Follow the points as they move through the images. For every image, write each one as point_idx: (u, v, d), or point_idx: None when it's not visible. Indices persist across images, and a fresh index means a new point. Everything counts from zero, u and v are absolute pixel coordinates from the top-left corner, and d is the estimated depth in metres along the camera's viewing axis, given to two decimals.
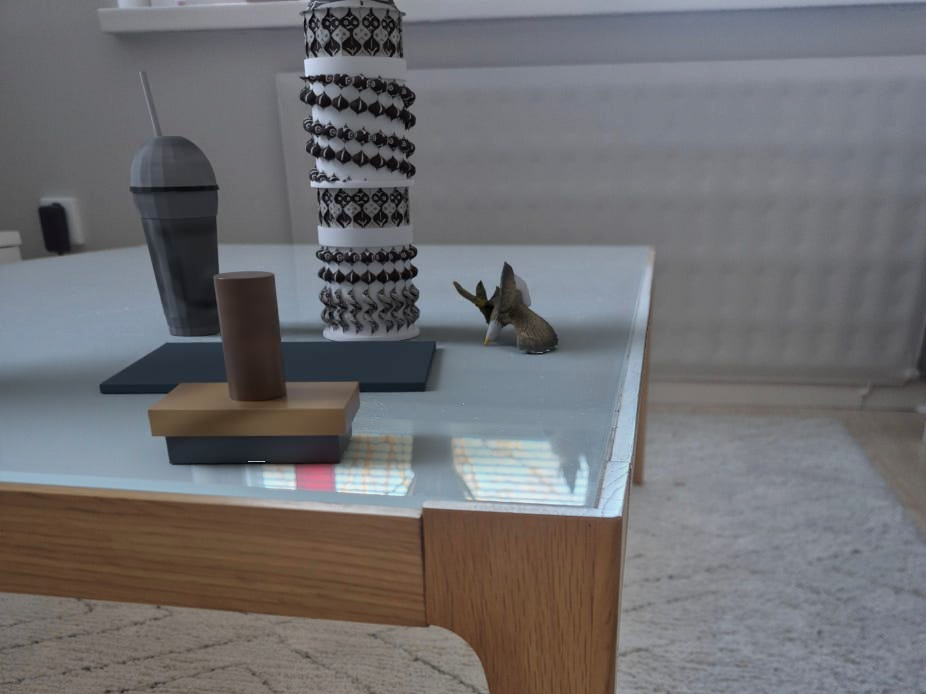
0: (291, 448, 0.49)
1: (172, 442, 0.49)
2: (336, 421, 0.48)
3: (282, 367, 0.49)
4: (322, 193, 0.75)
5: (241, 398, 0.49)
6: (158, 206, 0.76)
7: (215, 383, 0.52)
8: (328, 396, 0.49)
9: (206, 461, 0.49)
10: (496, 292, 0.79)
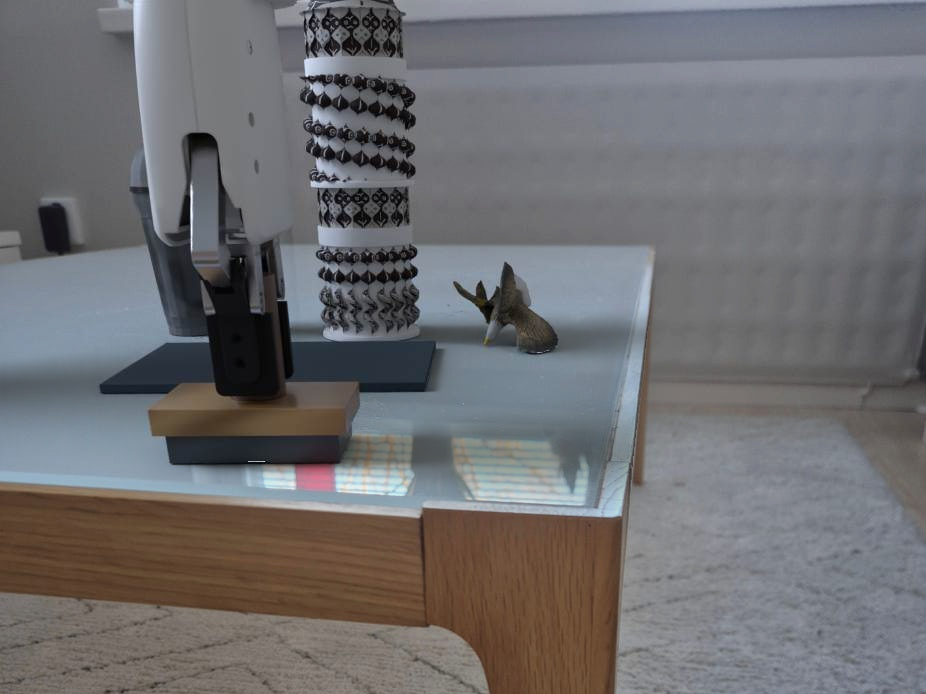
0: (291, 448, 0.49)
1: (172, 442, 0.49)
2: (336, 420, 0.48)
3: (282, 367, 0.49)
4: (322, 193, 0.75)
5: (242, 398, 0.49)
6: None
7: None
8: (328, 396, 0.49)
9: (206, 461, 0.49)
10: (496, 292, 0.79)
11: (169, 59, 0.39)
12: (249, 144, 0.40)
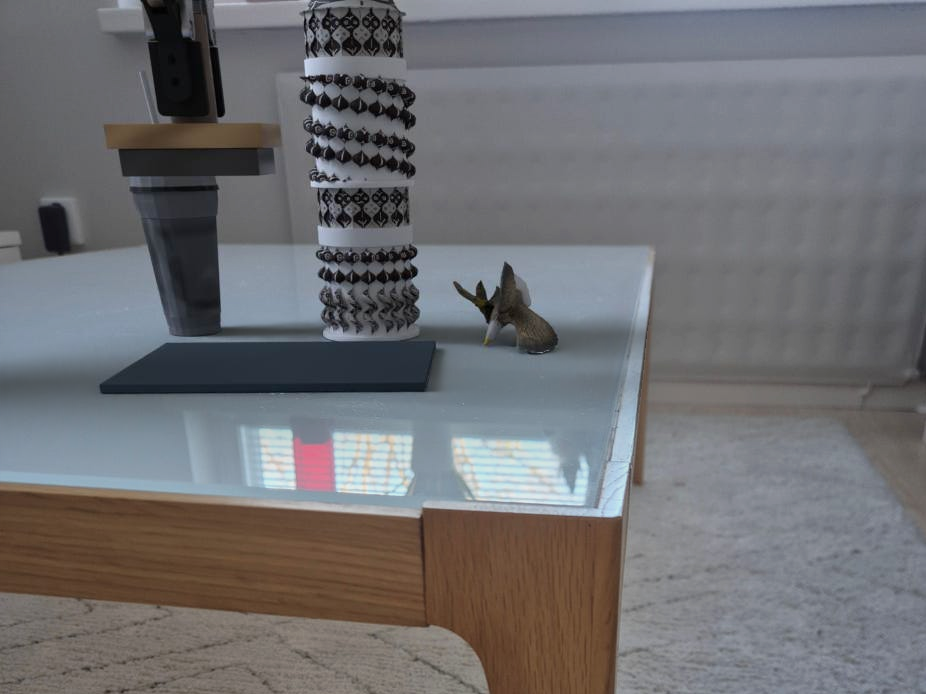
0: (219, 162, 0.60)
1: (124, 156, 0.60)
2: (254, 134, 0.59)
3: (213, 98, 0.61)
4: (322, 193, 0.75)
5: (180, 121, 0.60)
6: (158, 206, 0.76)
7: None
8: None
9: (152, 174, 0.61)
10: (496, 292, 0.79)
11: None
12: None
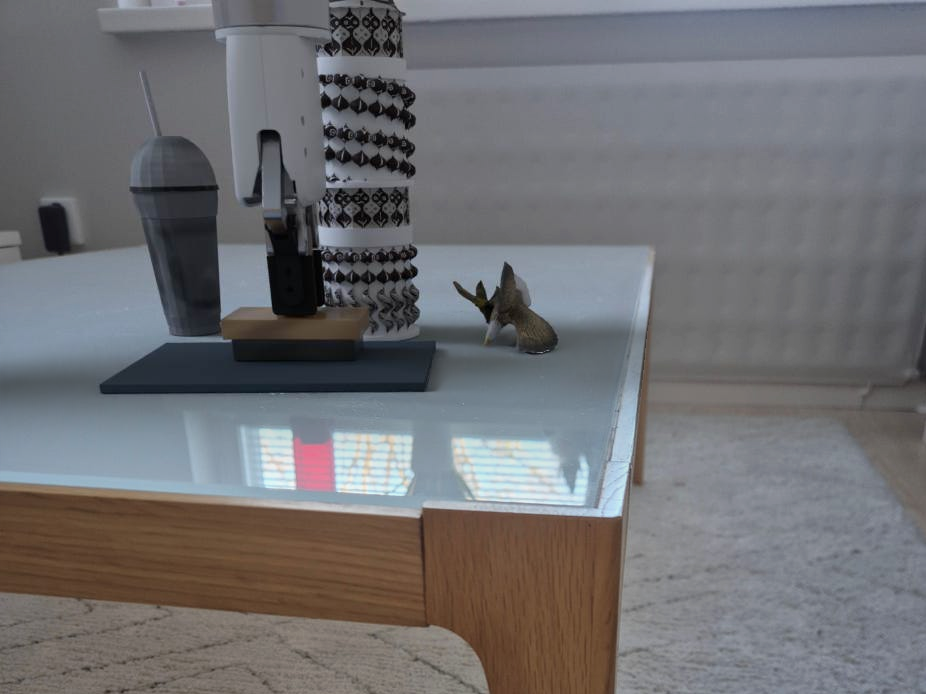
0: (320, 350, 0.69)
1: (236, 344, 0.69)
2: (353, 329, 0.68)
3: None
4: None
5: None
6: (158, 206, 0.76)
7: (265, 307, 0.72)
8: (347, 314, 0.70)
9: (260, 359, 0.69)
10: (496, 292, 0.79)
11: (250, 81, 0.59)
12: (301, 137, 0.61)
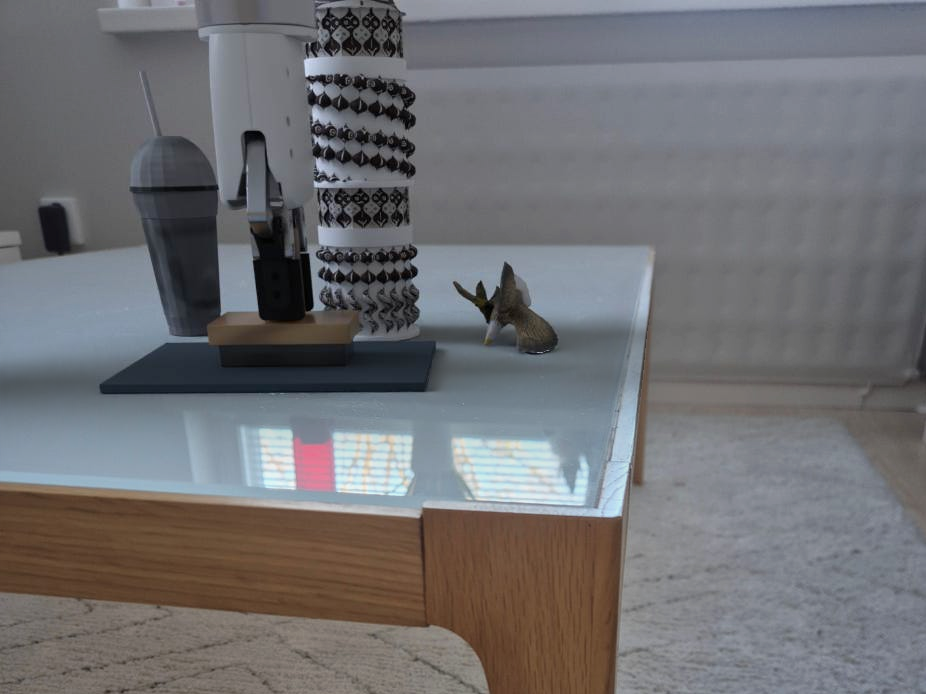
0: (310, 355, 0.67)
1: (223, 350, 0.67)
2: (342, 333, 0.66)
3: None
4: (322, 193, 0.75)
5: None
6: (158, 206, 0.76)
7: (252, 311, 0.71)
8: (336, 317, 0.68)
9: (248, 364, 0.68)
10: (496, 292, 0.79)
11: (233, 81, 0.57)
12: (286, 138, 0.59)
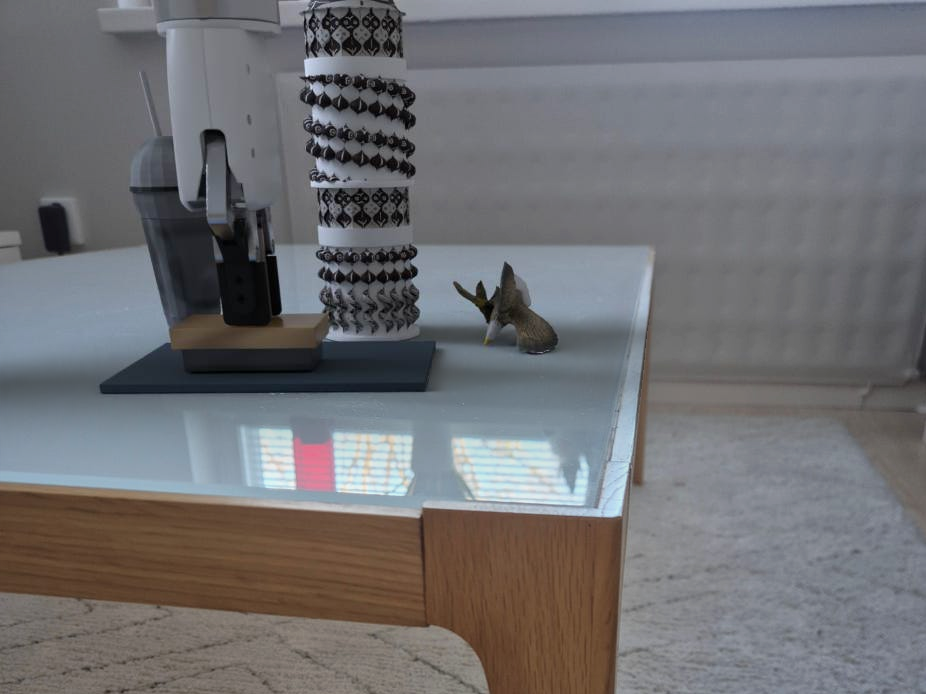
0: (275, 359, 0.65)
1: (187, 355, 0.65)
2: (309, 337, 0.64)
3: None
4: (322, 193, 0.75)
5: None
6: (158, 206, 0.76)
7: (218, 314, 0.69)
8: (303, 321, 0.66)
9: (212, 369, 0.66)
10: (496, 292, 0.79)
11: (191, 77, 0.55)
12: (247, 137, 0.57)
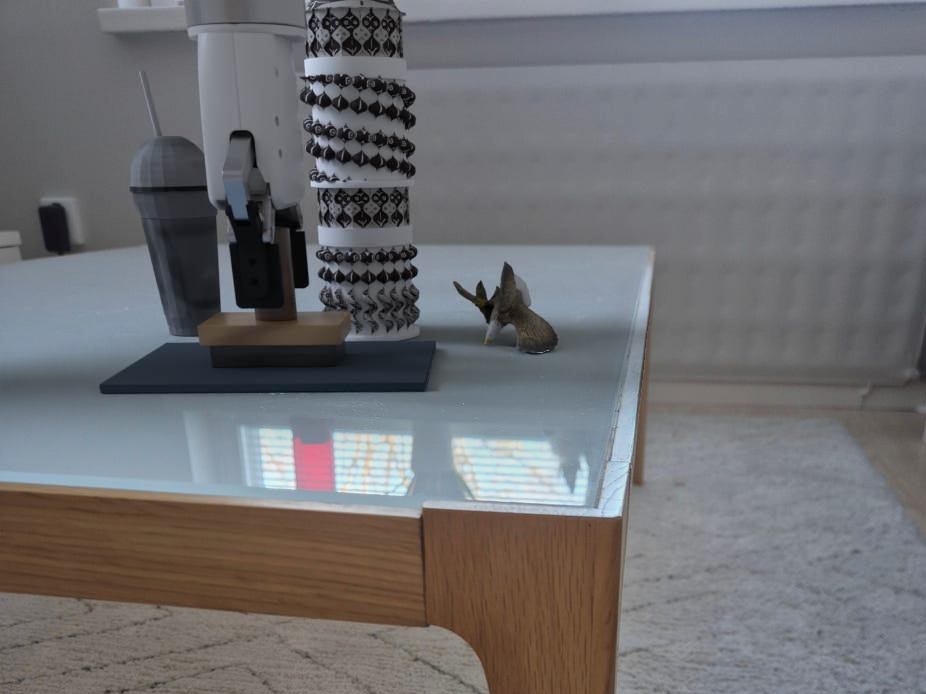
0: (301, 356, 0.67)
1: (214, 351, 0.67)
2: (333, 334, 0.66)
3: (294, 297, 0.67)
4: (322, 193, 0.75)
5: (265, 319, 0.67)
6: (158, 206, 0.76)
7: (244, 312, 0.71)
8: (328, 318, 0.68)
9: (239, 365, 0.67)
10: (496, 292, 0.79)
11: (222, 80, 0.57)
12: (275, 138, 0.59)
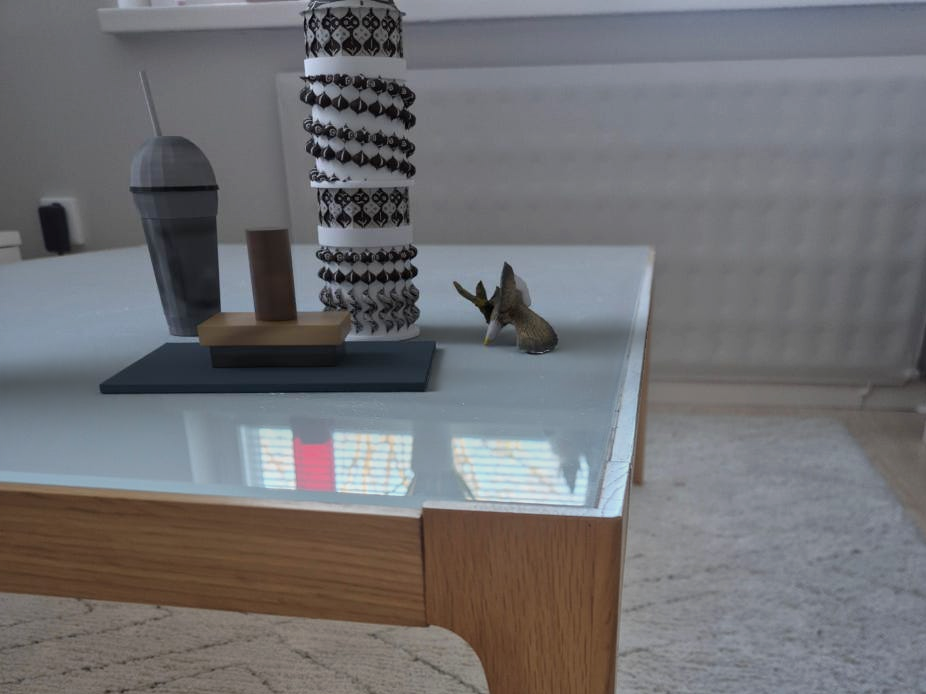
0: (301, 356, 0.67)
1: (214, 351, 0.67)
2: (333, 334, 0.66)
3: (294, 297, 0.67)
4: (322, 193, 0.75)
5: (265, 319, 0.67)
6: (158, 206, 0.76)
7: (244, 312, 0.71)
8: (328, 318, 0.68)
9: (239, 365, 0.67)
10: (496, 292, 0.79)
11: None
12: None
